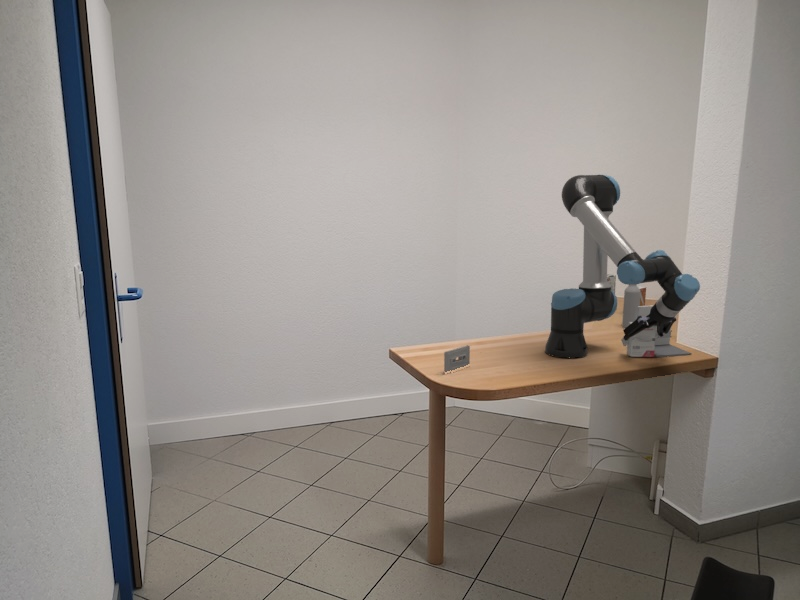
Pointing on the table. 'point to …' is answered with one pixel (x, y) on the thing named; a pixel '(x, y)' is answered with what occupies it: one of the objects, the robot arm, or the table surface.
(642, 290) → the small box
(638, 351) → the ink box
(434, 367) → the table surface
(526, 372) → the table surface
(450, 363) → the cassette
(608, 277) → the candy bar box
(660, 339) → the grey display stand
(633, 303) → the bottle
